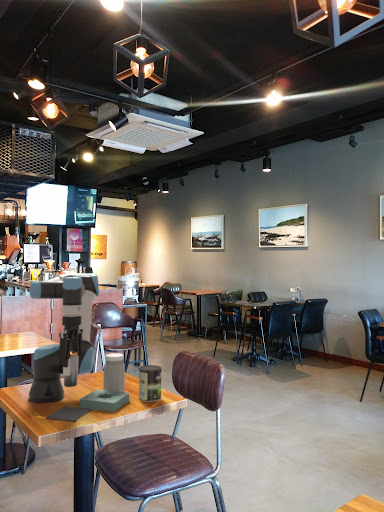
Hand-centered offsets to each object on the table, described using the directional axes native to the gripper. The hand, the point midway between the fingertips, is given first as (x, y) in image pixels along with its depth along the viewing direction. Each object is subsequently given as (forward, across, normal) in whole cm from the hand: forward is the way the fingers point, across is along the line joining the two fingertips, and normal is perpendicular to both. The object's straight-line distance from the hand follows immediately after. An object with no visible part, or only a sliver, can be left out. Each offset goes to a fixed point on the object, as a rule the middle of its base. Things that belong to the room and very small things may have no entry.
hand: (70, 373), depth 163 cm
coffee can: (+17, +28, -23) cm, 40 cm away
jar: (+17, +30, -4) cm, 35 cm away
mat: (+16, 0, 0) cm, 16 cm away
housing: (+16, +14, -8) cm, 23 cm away
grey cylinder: (+5, 0, 0) cm, 5 cm away
